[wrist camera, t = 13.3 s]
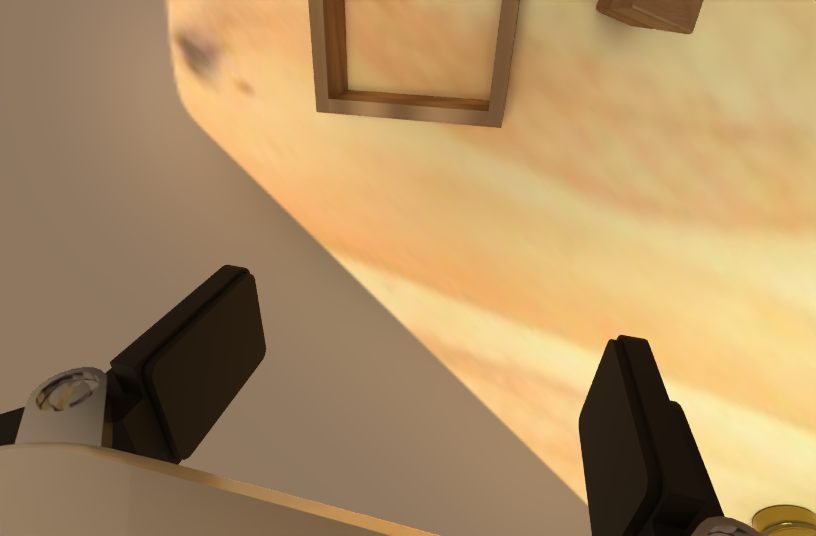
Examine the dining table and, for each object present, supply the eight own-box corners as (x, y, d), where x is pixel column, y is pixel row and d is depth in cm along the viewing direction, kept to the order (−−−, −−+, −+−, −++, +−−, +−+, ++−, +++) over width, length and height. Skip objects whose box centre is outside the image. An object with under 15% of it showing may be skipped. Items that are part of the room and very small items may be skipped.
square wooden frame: (536, -117, 32) (538, -136, 28) (503, 115, 40) (500, 127, 36) (325, -115, 35) (298, -131, 30) (336, 102, 43) (316, 111, 39)
